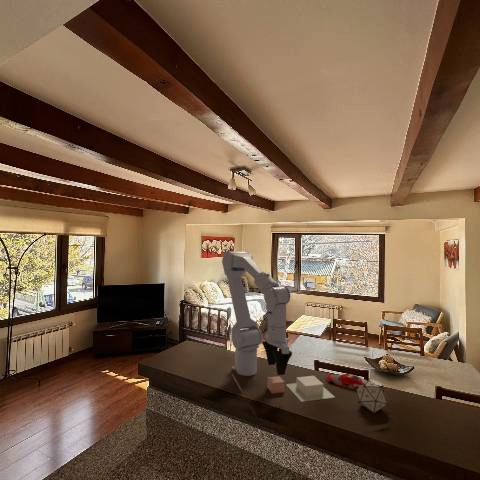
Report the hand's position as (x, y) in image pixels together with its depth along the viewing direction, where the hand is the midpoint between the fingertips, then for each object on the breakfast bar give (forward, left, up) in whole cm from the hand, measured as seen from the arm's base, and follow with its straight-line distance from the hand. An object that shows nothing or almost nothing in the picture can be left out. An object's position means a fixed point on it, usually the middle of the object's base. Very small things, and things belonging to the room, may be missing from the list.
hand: (276, 369), depth 93 cm
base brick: (+3, +10, -6) cm, 12 cm away
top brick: (0, 0, -7) cm, 7 cm away
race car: (+2, +24, -8) cm, 25 cm away
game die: (+16, +22, -7) cm, 28 cm away
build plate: (+3, +10, -7) cm, 13 cm away
